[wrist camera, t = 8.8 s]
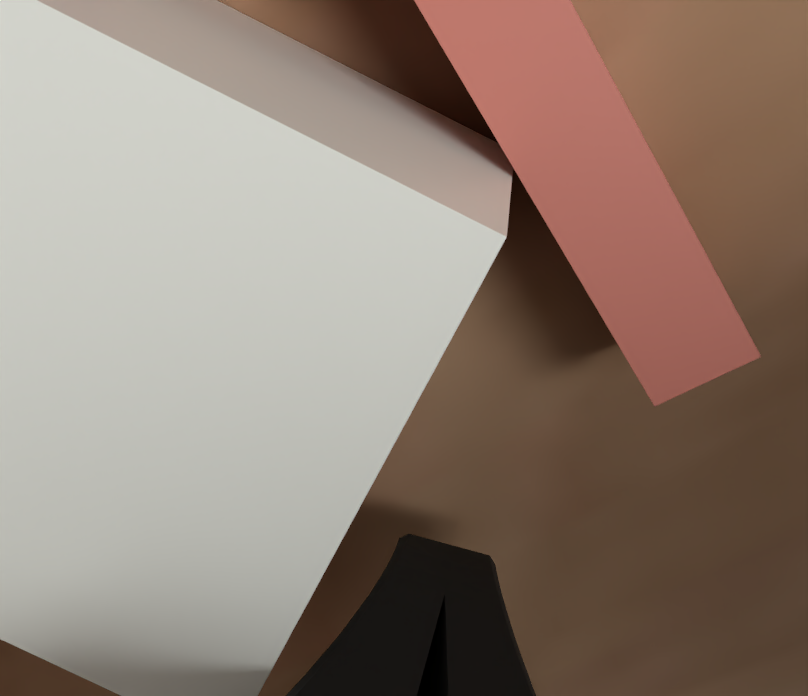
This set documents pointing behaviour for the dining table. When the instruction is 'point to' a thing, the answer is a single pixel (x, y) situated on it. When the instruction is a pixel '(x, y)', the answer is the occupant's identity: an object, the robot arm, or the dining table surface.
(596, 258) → the pink u-shaped block
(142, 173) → the white rectangular block
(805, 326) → the dining table surface
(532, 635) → the dining table surface
